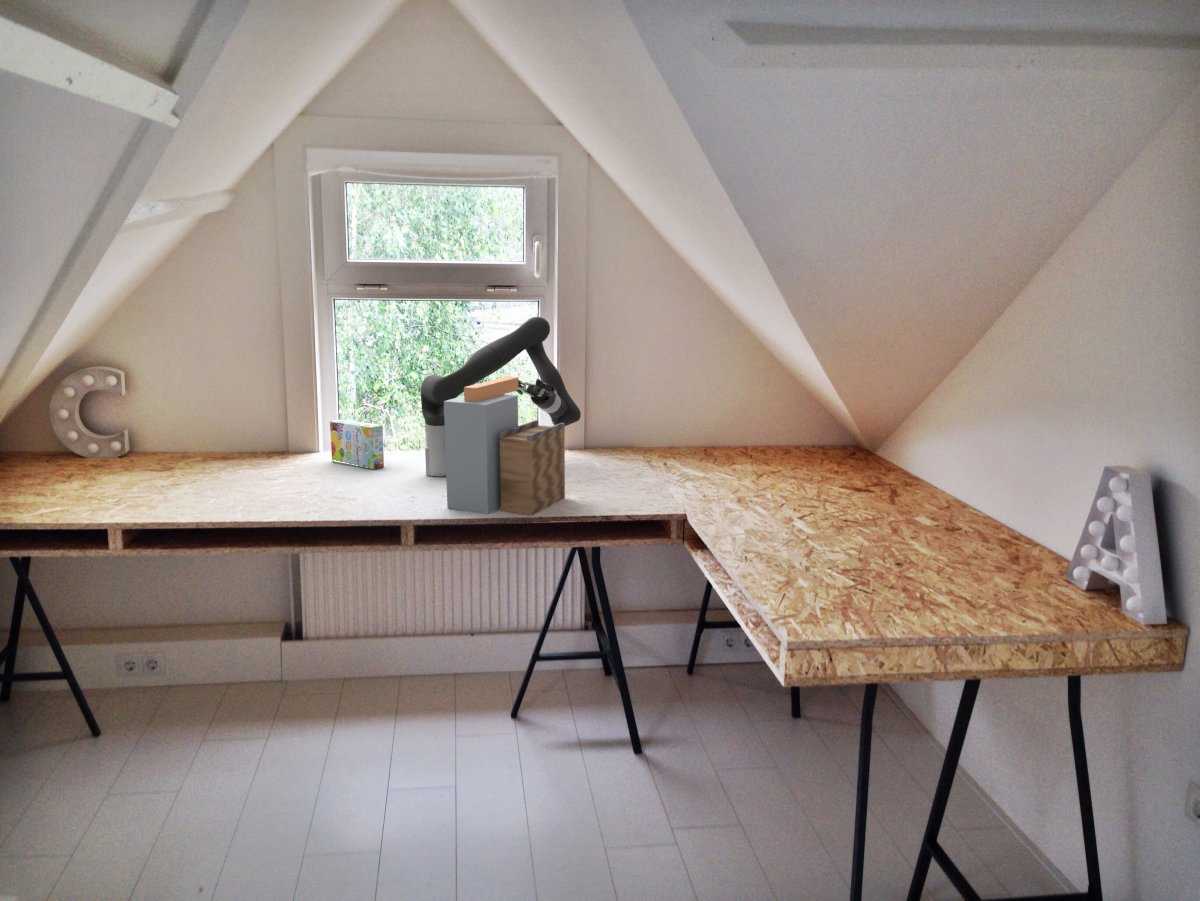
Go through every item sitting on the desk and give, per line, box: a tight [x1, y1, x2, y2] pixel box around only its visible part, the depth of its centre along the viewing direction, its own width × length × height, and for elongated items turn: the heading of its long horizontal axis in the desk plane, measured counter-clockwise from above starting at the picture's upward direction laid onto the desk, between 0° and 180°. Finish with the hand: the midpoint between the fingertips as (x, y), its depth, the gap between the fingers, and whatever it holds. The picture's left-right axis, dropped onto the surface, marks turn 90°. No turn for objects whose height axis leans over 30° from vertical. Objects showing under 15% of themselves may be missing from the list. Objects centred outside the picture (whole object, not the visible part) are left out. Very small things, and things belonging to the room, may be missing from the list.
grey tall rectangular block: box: [444, 394, 519, 515], centre depth 279 cm, size 18×14×32 cm
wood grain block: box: [500, 419, 566, 517], centre depth 279 cm, size 21×10×24 cm, turn 155°
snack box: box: [329, 419, 385, 470], centre depth 329 cm, size 21×6×15 cm, turn 58°
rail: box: [463, 376, 519, 402], centre depth 280 cm, size 24×4×4 cm, turn 155°
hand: (525, 380), depth 303 cm, fingers open, 8 cm apart
